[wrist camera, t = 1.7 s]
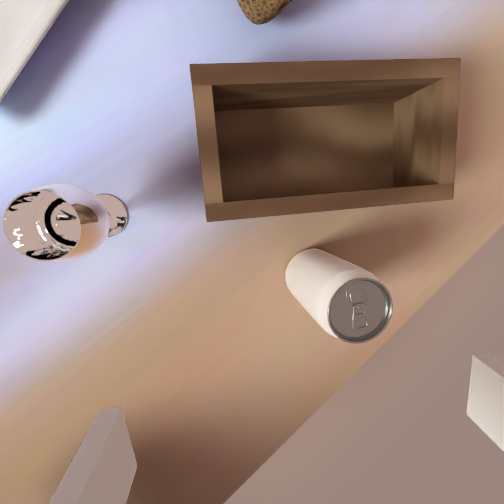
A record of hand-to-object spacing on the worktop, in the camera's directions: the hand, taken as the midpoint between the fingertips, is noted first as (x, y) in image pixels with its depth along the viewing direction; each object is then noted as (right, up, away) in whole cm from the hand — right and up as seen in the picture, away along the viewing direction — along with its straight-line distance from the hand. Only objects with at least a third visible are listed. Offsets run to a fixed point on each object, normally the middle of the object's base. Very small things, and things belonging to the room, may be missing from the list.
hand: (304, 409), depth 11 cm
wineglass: (-17, +10, +20) cm, 28 cm away
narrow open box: (+4, +17, +22) cm, 28 cm away
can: (+5, +3, +25) cm, 25 cm away
